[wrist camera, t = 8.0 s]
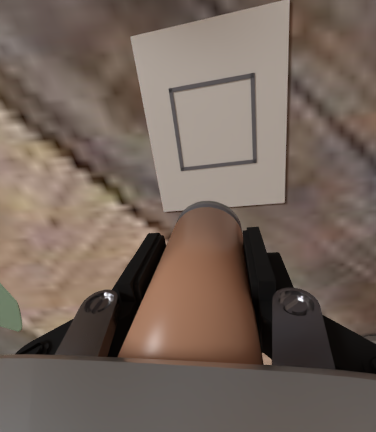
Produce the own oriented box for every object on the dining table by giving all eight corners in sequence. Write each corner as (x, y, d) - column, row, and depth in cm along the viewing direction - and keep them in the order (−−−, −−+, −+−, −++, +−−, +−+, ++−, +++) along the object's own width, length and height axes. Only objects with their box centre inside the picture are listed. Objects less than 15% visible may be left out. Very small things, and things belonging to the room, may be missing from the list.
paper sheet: (288, 0, 20) (289, -2, 20) (284, 202, 27) (284, 203, 27) (131, 37, 23) (129, 36, 22) (164, 211, 30) (163, 212, 29)
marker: (241, 196, 13) (353, 681, 2) (244, 258, 14) (313, 716, 3) (169, 202, 13) (-58, 565, 3) (180, 261, 15) (68, 638, 4)
